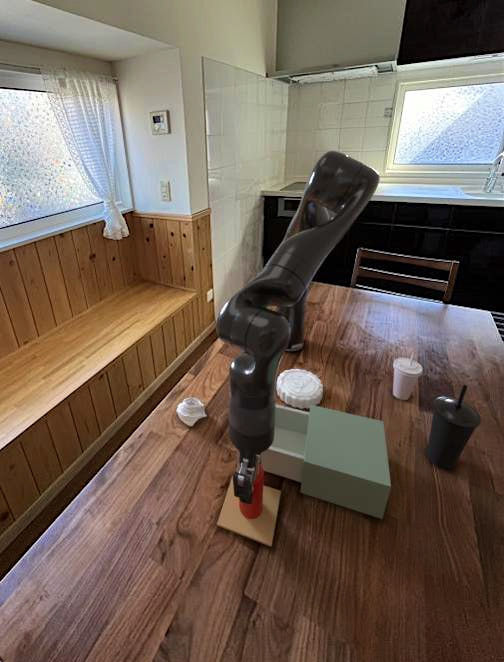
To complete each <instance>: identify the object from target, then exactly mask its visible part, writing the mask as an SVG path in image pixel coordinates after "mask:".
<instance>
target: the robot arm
mask: <svg viewBox="0 0 504 662" xmlns="http://www.w3.org/2000/svg"><path fill="white" fill-rule="evenodd" d="M380 180H381V177H380V173H379V172H378V171H377V170H375V169H374V168H373V167H371V166H370V165H367V164H366V163H363V162H361V161H359V160H357V159H354V158H352V157H351V156H348V155H347V154H346V153H343V152H340V151H336V150H328V151H327V152H325V153H323V154H322V155H321V156H320V157H319V159H318V160H317V161H316V163H315V164H314V166H313V167H312V169H311V171H310V172H309V176H308V178H307V181H306V183H305V186H304V190H303V192H302V196H301V199H300V202H299V205H298V208H297V210H296V211H295V214H294V215H293V217H292V219H291V221H290V223H289V226H288V227H287V230H286V233H285V236H284V238H283V239H282V242H281V243H280V244H279V246H278V247H277V248H276V249H275V251H274V252H273V254H272V255H271V257H270V259H269V260H268V261H267V263H266V264H265V265H264V267H263V269H262V270H261V272H260V273H259V274H258V275H257V276H256V277H254V278H253V279H251V280H250V281H249V282H248V283H246V285H244V286H243V287H242V288H241V289H239V291H237V292H236V293H235V294H233V295H232V296H231V297H230V298H229V299H228V300H227V301H226V302H225V303H224V305H223V306H222V308H221V309H220V311H219V313H218V316H217V319H216V323H215V328H216V335H217V337H218V338H219V339H220V341H221V342H223V343H224V344H225V345H227V346H229V347H232V348H234V349H236V350H238V351H240V352H241V353H242V354H239V355H237V356H236V357H234V358H233V359H232V361H231V362H230V365H229V370H228V378H229V379H228V384H229V385H228V388H229V390H228V391H229V393H228V395H229V396H228V401H227V414H228V419H227V420H228V437H229V440H230V442H231V444H232V445H233V446H234V447H235V449H236V457H237V461H236V470H235V471H234V472H233V474H232V476H233V486H234V496H235V497H239V499H240V501H241V502H243V503H245V504H248V505H249V504H252V500H253V489H254V488H253V483H254V481H255V480H256V478H257V475H258V467H259V464H260V465H261V454H262V452H264V451H266V450H267V449H268V448H269V447H270V446H271V445H272V443H273V440H274V430H275V410H276V406H275V404H276V399H275V394H276V377H277V374H278V371H279V367H280V365H281V362H282V359H283V357H284V355H285V353H286V352H288V353H294V352H298V351H300V350H302V349H303V347H304V338H305V328H306V327H305V326H306V325H305V324H306V315H307V304H308V294H309V288H310V283H312V280H313V279H314V276H315V275H316V273H317V272H318V270H319V268H320V267H321V266H322V264H323V263H324V261H325V260H326V259H327V257H328V256H329V255H330V254H331V252H332V251H333V250H334V249H335V247H336V246H337V245H338V244H339V243H340V241H341V240H342V239H343V238H344V236H346V234H347V232H348V231H349V230H350V228H351V227H352V226H353V224H354V223H355V222H356V220H357V219H358V218H359V216H360V215H361V213H363V211H364V210H365V208H366V207H367V205H368V204H369V202H370V201H371V199H372V198H373V196H374V194H375V193H376V190H377V189H378V187H379V184H380ZM328 211H331V212H333V213H335V215H334V216H333V217H331V218H330V215H329V212H328ZM270 307H275V310H273V309H270ZM248 468H250V469H252V468H254V471H250V470H247V469H248Z"/></svg>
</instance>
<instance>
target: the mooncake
mask: <svg viewBox="0 0 504 662" xmlns="http://www.w3.org/2000/svg"><path fill="white" fill-rule="evenodd" d="M275 391H276V392H277V396H278V397H280V400H281V401H282V402H285V404H286V405H288V406H291V408H298V409H299V410H303V409H307V410H308V409H309V410H310V406H311V405H314V406H317V405H320V403H321V401H322V400H323V395H324V385H323V383H322V380H321V379H320V378H319V377H318V376H317V375H316V374H313V372H312V371H307V370H306V369H300V368H296V369H294V368H290V369H288V370H286V369H285V370H284V371H283V372H281V373H280V374H279V375H278V376H277V381H276V387H275Z"/></svg>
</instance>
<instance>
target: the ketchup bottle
mask: <svg viewBox="0 0 504 662" xmlns="http://www.w3.org/2000/svg"><path fill="white" fill-rule="evenodd" d="M247 470H250V471H254V468H252V469H250V468H248V469H247ZM264 472H265V471H263V468H262V466H261V465H260V464H259V467H258V475H257V478H256V480H255V481H254V483H253V488H254V489H253V500H252V504H249V505H248V504H245V503H243V502H241V501H240V499H239V509H240V511H241V513H242V515H243V516H245V517H246V518H248V519H255V518H257V517H259V516H260V515H261V513H262V507H263V485H264V479H265V477H264V475H265V473H264Z"/></svg>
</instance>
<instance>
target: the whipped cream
mask: <svg viewBox="0 0 504 662" xmlns="http://www.w3.org/2000/svg"><path fill="white" fill-rule="evenodd" d="M205 409H206V407H205V404H204V403H202V401H201V400H200V399H199V398H195V397H187V398H184V399H183V401H182V402H180V403H179V404H178V405H177V407H176V414H177V416H178V418H179V419H180V421H181V422H182V423H183V424H185V425H186V426H188V427H193V426H194V424H195V423H196V422H197V421H199V419H202V418H207V416H208V415H207V413H206V411H205Z"/></svg>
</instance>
